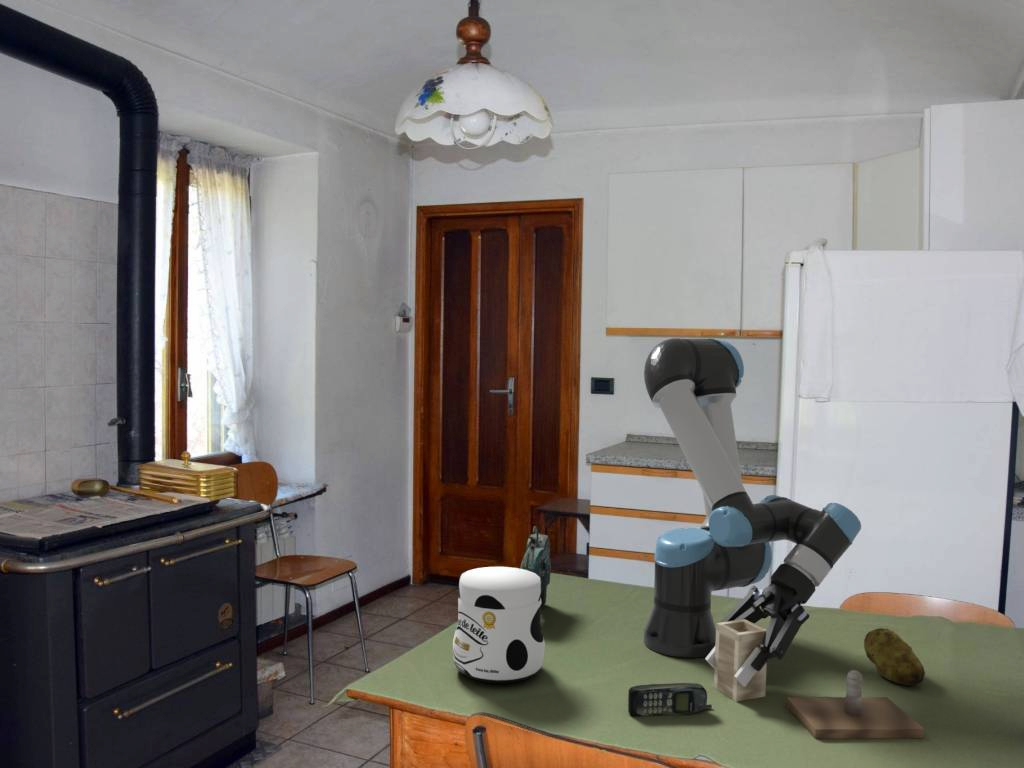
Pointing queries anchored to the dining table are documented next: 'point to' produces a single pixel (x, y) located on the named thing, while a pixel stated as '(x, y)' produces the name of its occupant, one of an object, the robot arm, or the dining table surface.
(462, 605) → the doce de leite jar
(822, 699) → the flat brown rectangular board
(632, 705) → the mobile phone
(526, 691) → the dining table surface
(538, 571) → the green statue
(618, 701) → the dining table surface
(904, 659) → the potato
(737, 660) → the wooden pencil cup
